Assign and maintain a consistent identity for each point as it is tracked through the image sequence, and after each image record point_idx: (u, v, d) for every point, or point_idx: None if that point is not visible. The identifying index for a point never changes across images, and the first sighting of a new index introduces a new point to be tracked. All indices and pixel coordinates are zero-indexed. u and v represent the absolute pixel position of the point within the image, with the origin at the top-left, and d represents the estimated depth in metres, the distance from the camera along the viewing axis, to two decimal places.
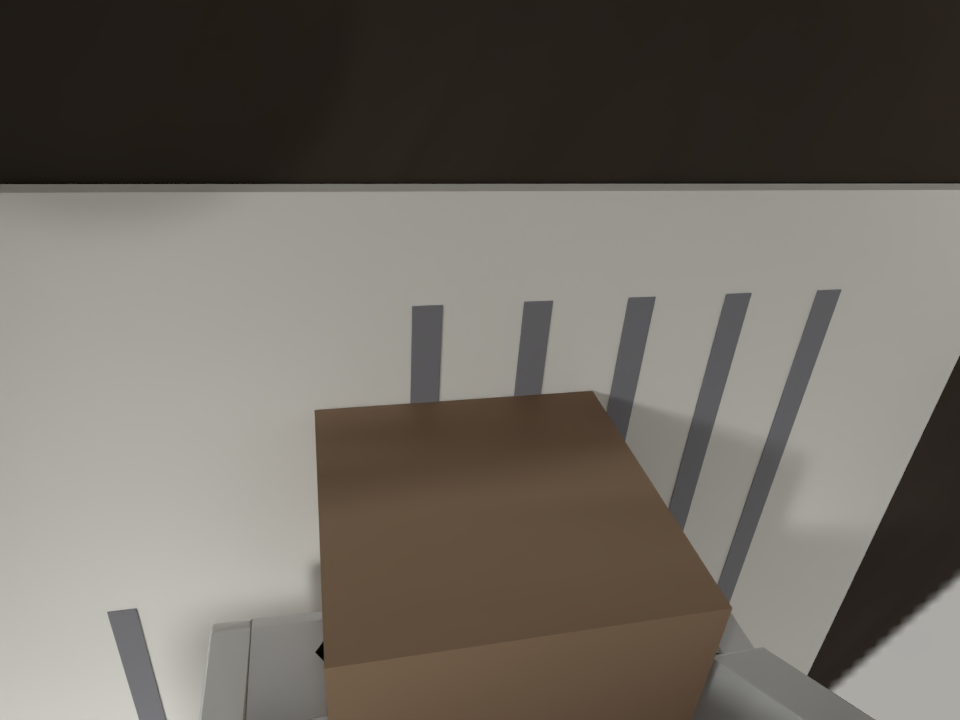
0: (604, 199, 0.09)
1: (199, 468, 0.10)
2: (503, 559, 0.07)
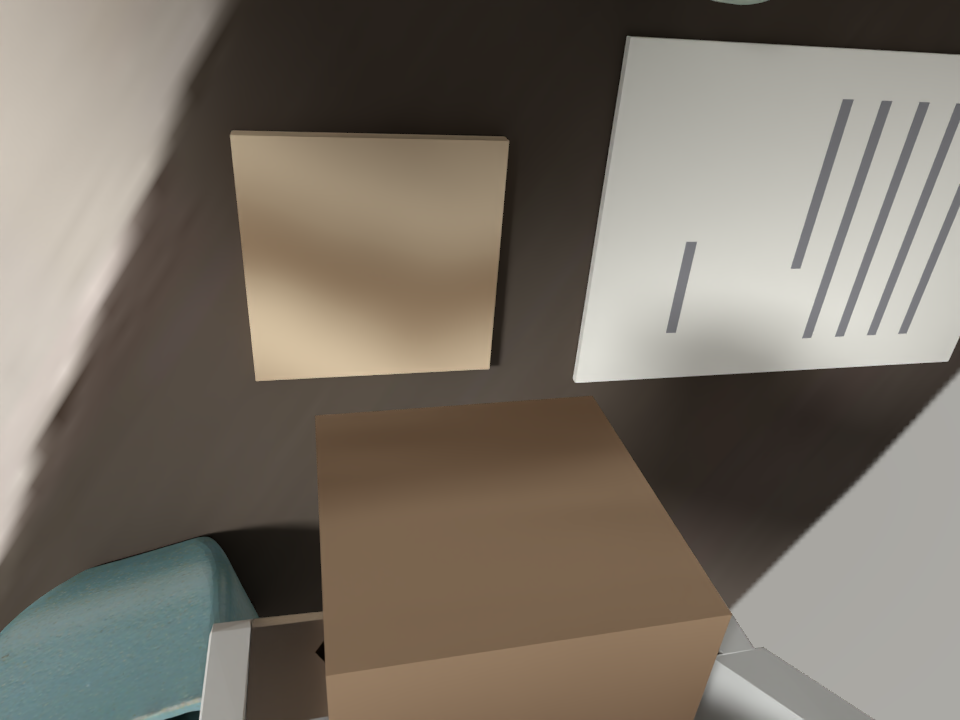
0: (920, 56, 0.23)
1: (746, 169, 0.24)
2: (504, 565, 0.07)
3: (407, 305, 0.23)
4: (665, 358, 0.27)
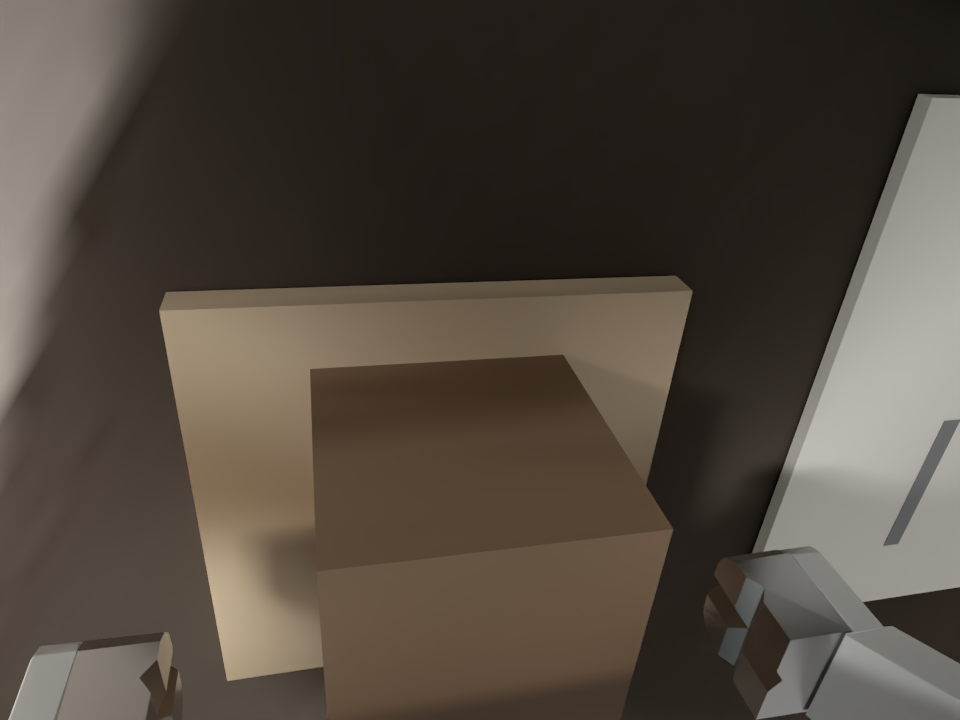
0: None
1: None
2: (474, 489, 0.08)
3: None
4: (875, 577, 0.17)
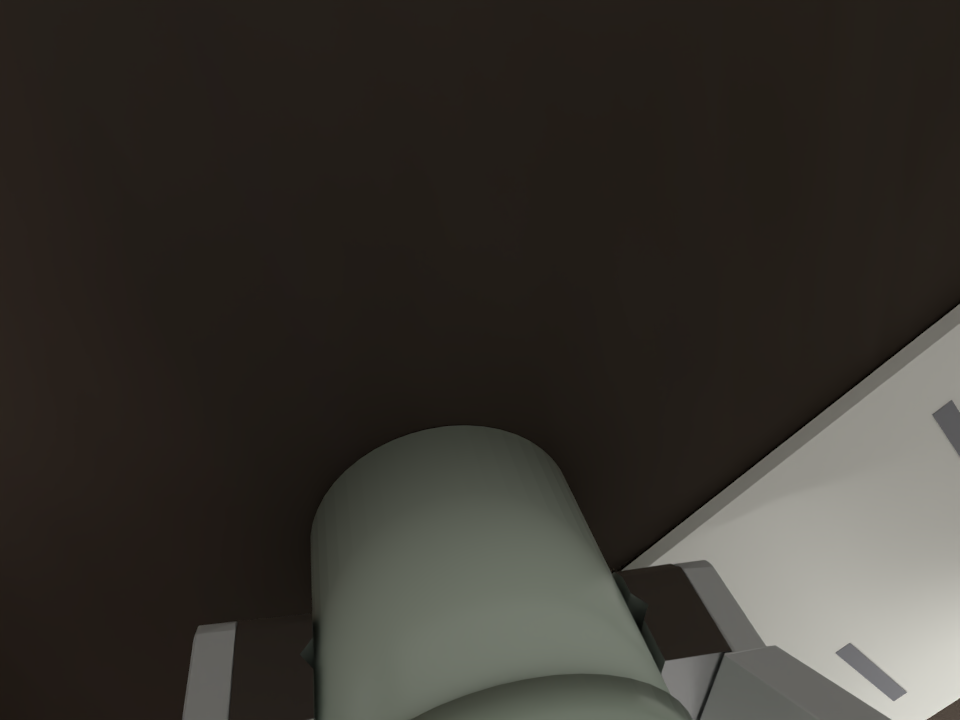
0: None
1: (850, 564, 0.14)
2: None
3: None
4: (916, 708, 0.18)
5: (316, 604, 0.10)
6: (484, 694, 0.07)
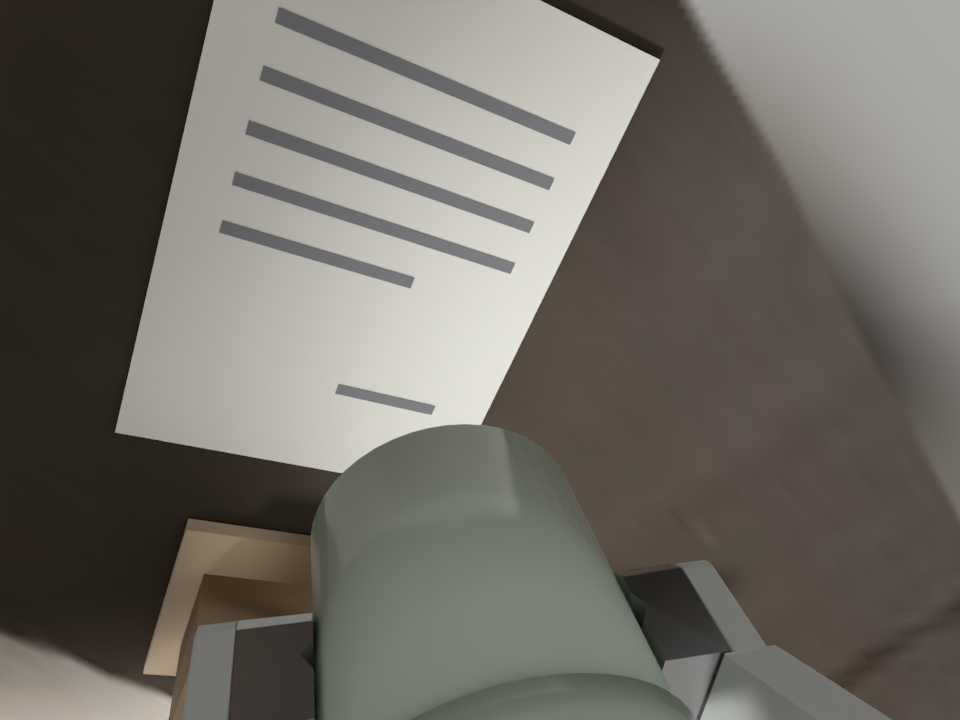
0: (187, 136, 0.19)
1: (272, 335, 0.23)
2: (181, 680, 0.25)
3: None
4: (461, 415, 0.26)
5: (316, 604, 0.10)
6: (485, 693, 0.07)
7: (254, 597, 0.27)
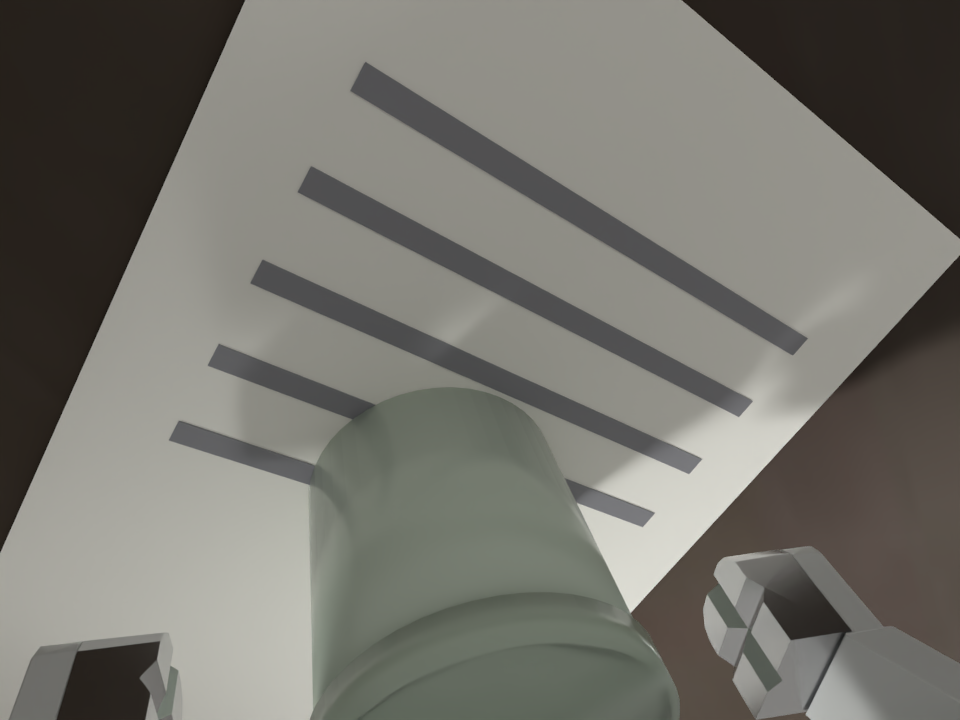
0: (133, 275, 0.10)
1: (237, 596, 0.13)
2: None
3: None
4: None
5: (313, 548, 0.11)
6: (461, 609, 0.08)
7: None
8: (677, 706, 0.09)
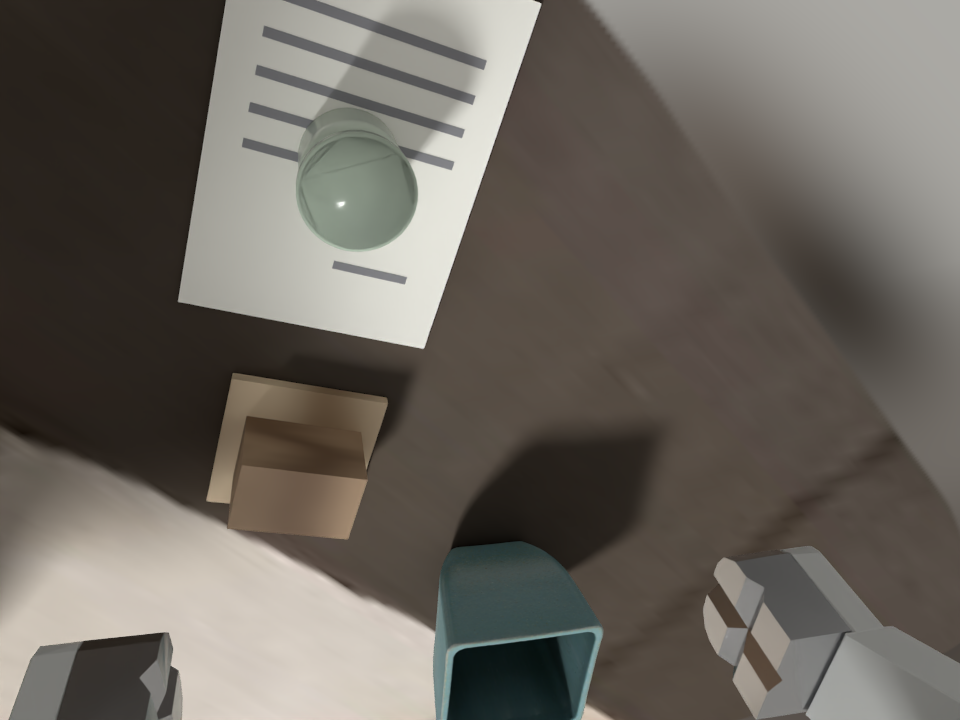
0: (216, 78, 0.28)
1: (284, 223, 0.32)
2: (235, 486, 0.35)
3: None
4: (427, 285, 0.35)
5: None
6: (329, 138, 0.26)
7: (284, 431, 0.36)
8: (412, 169, 0.27)
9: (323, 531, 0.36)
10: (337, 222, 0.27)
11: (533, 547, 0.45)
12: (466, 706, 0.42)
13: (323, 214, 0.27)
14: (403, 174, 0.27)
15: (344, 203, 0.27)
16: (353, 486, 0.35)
